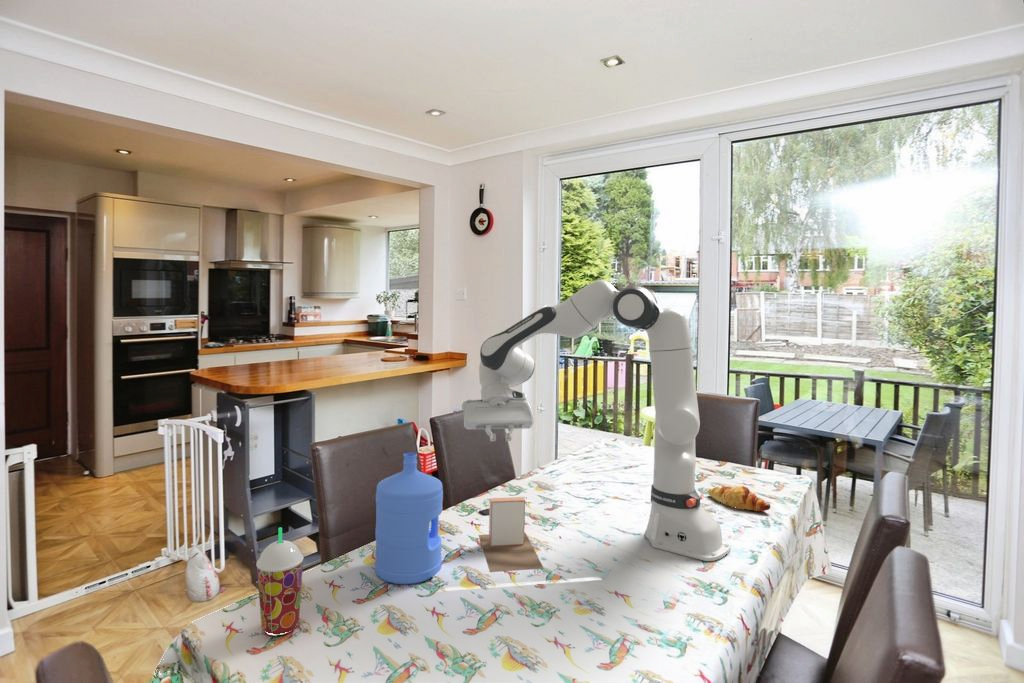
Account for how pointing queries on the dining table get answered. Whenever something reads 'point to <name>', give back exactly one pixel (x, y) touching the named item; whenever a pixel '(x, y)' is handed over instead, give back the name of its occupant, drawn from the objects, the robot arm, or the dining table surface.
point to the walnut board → (510, 556)
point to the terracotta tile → (506, 521)
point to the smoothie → (280, 585)
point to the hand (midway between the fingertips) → (501, 440)
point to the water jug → (408, 525)
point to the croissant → (738, 498)
